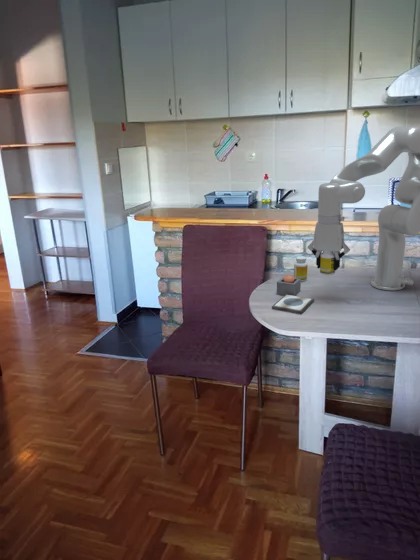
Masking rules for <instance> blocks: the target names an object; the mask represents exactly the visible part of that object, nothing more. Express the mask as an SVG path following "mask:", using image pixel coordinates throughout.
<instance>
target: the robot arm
mask: <svg viewBox="0 0 420 560" xmlns="http://www.w3.org/2000/svg"><path fill="white" fill-rule="evenodd" d="M402 153H407V157H408V163H407V166H406V168H405V170H404V173H403V174H402V176H401V179H400V180H399V182H398V184H397V186H396V189H395V191H394V198H395V200H396V201H397V202H398V203H401V204H404V205H407V206H403V205H397V204H389V205H388V204H387V205H386V206H384V207H382V208H381V209H380V210H379V213H378V215H377V216H378V217H377V224H378V248H377V258H376V259H377V260H376V268H375V278H372V279H371V280H370V286H372V287H373V288H376V289H378V290H381V291H384V290H385V291H391V292H393V291H400V290H403V289H404V288H405V287H406V285H408V286H414V281H415V280H414V279H412V278H407V277H404V275H405V274H404V273H403V269H404V268H403V267H404V260H405V259H404V258H405V251H406V250H405V249H406V236H416V235H419V234H420V126H396V127H393V128H391V129H389V130H388V131H387V132H386V133H385V135H384V136H383V137H382V138H381V139H379V141H378V142H376V144H375V145H374V146H373V147H372V148H371V149H370V150H369V151H368V152H367V153H366V154H364V155H362V156H361V157H359V158H358V159H355V160H354V161H351V162H350V163H349V164H347V165H346V166H344V167H343V168H341V169H340V170H339V171H338V172H337V173H336V174H335V175H334V176H333V177H332V179H331V180H330V182H325V183H322V184H320V185H319V186H318V200H317V201H318V205H317V207H318V208H317V209H318V212H317V222H316V223H315V226H314V227H315V228H314V232H313V233H314V235H313V240H312V242H311V243H309V245H308V246H307V249H308V250H309V251H310V252H311V253H312V254H313V255H314V258H316V259H315V262H316V263H315V264H316V266H317V267H316V268H317V269H320V256H321V253H323V251H330V252H334V254H335V257H336V258H335V260H334V270H335V271H337V270H338V269H339V268H340V266H341V258H343V256H345V255H346V254H348V253H349V252H350V251H351V249H350V247H349V246H348V245H347V244H346V243H345V231H344V223H343V222H342V221H345V219H346V218H345V216H342V213H341V209H342V204H356V203H359V202H361V201H362V200H363V198H365V194H366V188H365V187H364V184H362V183H360V182H358V181H359V180H362V179H363V178H366V177H370V176H374V175H377V174H381V173H382V172H385V171H386V170H387V169H388V167H389V166H391V164H393V162H394V161H396V160H397V158H398V157H399V156H400V155H401V154H402ZM408 205H409V206H410V207H408ZM405 235H406V236H405ZM342 249H343V251H342Z"/></svg>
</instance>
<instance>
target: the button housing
mask: <svg viewBox="0 0 420 560" xmlns="http://www.w3.org/2000/svg"><path fill="white" fill-rule="evenodd" d="M301 283H302V282H301V279H298V278H294V283H287V282H284V276H282V277H281V278H280V279H279V280H278V281H276V295H280V296H284V295H285V294H287V295H293V296H298V294H299V293H300V292H301Z"/></svg>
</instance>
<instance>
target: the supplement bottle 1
mask: <svg viewBox="0 0 420 560" xmlns="http://www.w3.org/2000/svg"><path fill="white" fill-rule="evenodd" d="M295 260H296V261H295V262H294V264H293V265H294V267H293V276H294V278H298V279H301V283H303V282H306V281H307V279H308V263H307V257H306V256H302V255H300V256H299V255H298V256H297V257H295Z"/></svg>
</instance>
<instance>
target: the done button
mask: <svg viewBox="0 0 420 560" xmlns="http://www.w3.org/2000/svg"><path fill="white" fill-rule="evenodd" d="M283 277H284V282H287V283H294V275H291V274H287V275H283Z"/></svg>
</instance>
